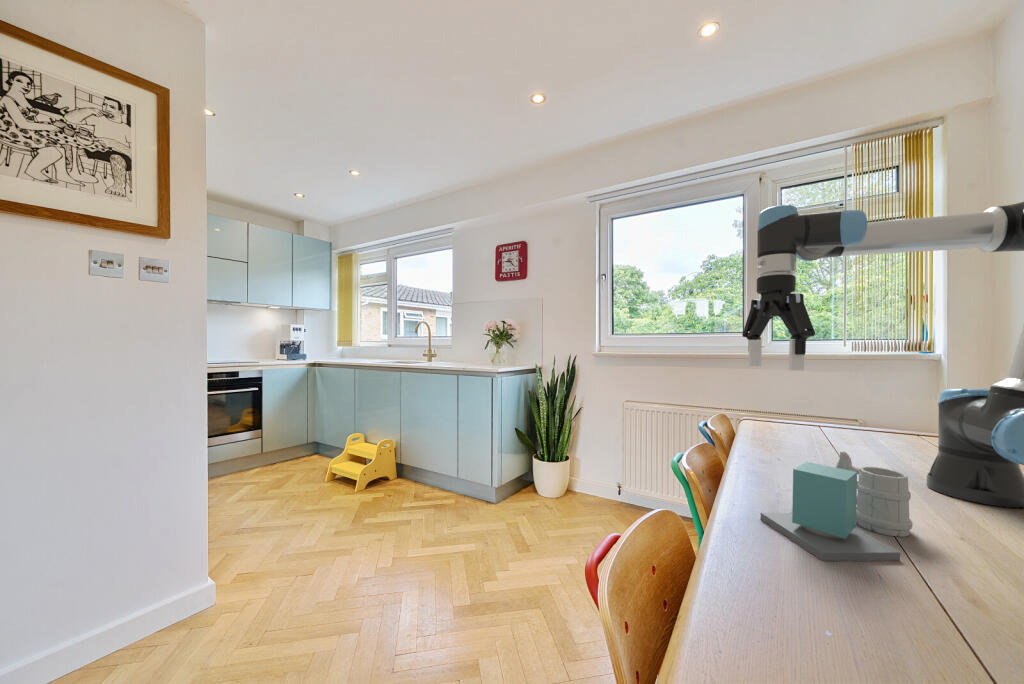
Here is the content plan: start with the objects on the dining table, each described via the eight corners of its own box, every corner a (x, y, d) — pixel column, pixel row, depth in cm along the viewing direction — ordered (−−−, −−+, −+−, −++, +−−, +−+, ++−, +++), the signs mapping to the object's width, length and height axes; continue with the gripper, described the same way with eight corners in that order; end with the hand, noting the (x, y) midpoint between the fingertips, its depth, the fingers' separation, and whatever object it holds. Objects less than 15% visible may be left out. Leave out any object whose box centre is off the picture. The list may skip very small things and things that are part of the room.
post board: (823, 519, 74) (824, 477, 74) (900, 560, 60) (901, 509, 60) (760, 519, 74) (761, 477, 74) (823, 560, 60) (824, 509, 60)
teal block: (792, 522, 67) (793, 468, 67) (805, 511, 72) (806, 461, 72) (845, 538, 62) (846, 480, 62) (855, 526, 66) (857, 472, 66)
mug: (901, 541, 66) (902, 469, 66) (819, 513, 76) (820, 451, 76) (920, 532, 69) (921, 463, 69) (839, 506, 80) (840, 446, 80)
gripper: (728, 283, 104) (726, 364, 104) (801, 265, 79) (799, 372, 79) (756, 283, 105) (754, 365, 105) (838, 266, 80) (836, 372, 80)
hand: (774, 368), depth 92 cm, fingers open, 13 cm apart
